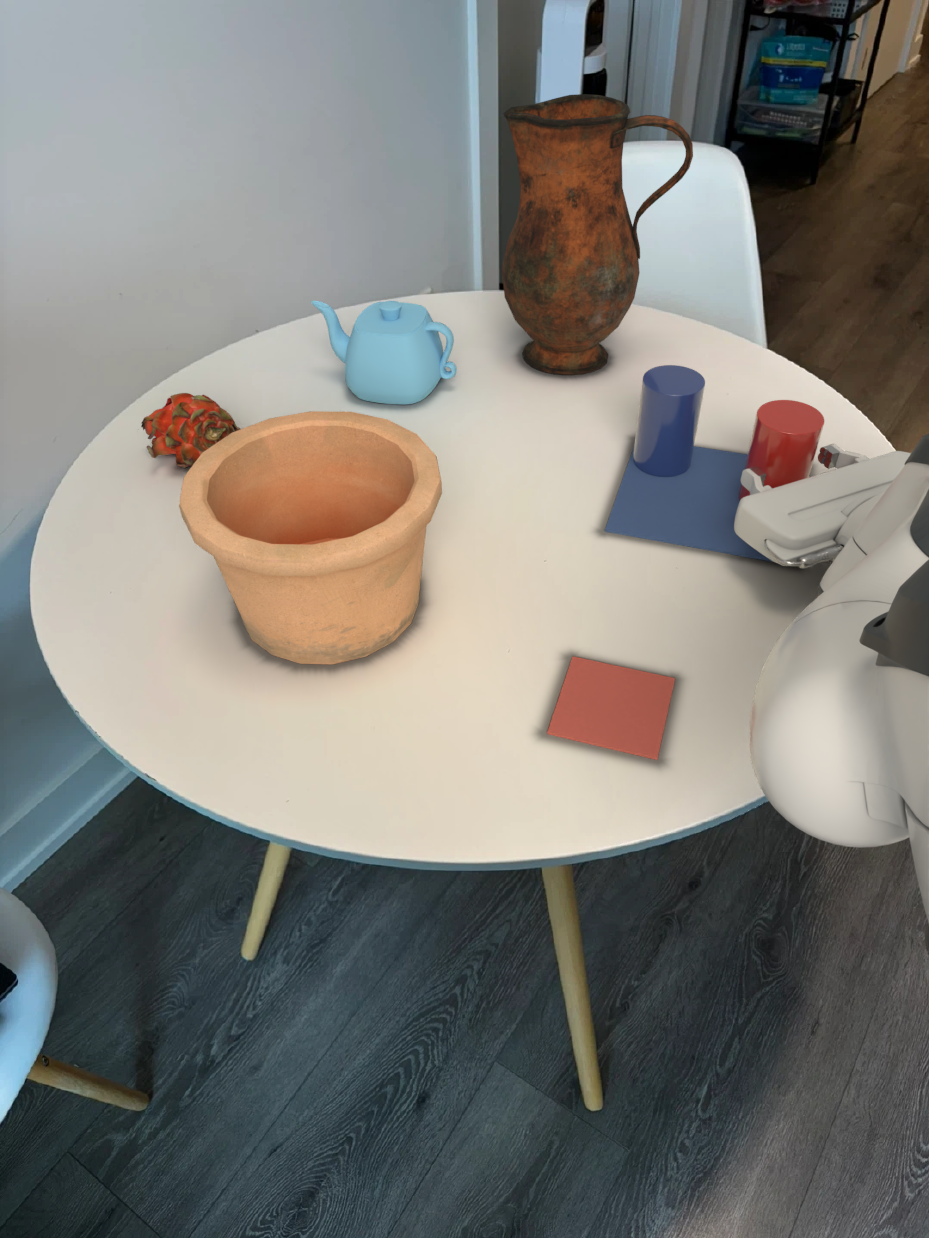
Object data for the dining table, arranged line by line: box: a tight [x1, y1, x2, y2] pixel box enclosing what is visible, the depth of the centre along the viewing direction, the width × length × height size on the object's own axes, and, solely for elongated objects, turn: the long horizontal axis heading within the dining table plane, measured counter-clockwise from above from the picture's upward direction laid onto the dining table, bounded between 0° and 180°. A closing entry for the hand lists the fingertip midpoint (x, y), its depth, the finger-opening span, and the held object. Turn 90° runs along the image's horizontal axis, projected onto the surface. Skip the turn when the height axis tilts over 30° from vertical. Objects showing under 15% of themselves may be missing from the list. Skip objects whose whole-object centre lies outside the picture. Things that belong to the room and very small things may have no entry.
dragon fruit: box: [136, 392, 241, 469], centre depth 104 cm, size 8×8×12 cm
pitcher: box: [501, 93, 694, 376], centre depth 111 cm, size 17×21×30 cm
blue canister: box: [633, 364, 706, 477], centre depth 99 cm, size 6×6×10 cm
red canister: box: [739, 399, 825, 500], centre depth 94 cm, size 6×6×10 cm
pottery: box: [178, 410, 443, 665], centre depth 83 cm, size 22×22×14 cm
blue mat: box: [604, 445, 775, 563], centre depth 98 cm, size 19×18×1 cm
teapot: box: [310, 300, 458, 405], centre depth 114 cm, size 13×11×18 cm
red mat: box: [546, 655, 676, 761], centre depth 77 cm, size 9×9×1 cm
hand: (786, 462), depth 92 cm, fingers open, 8 cm apart
